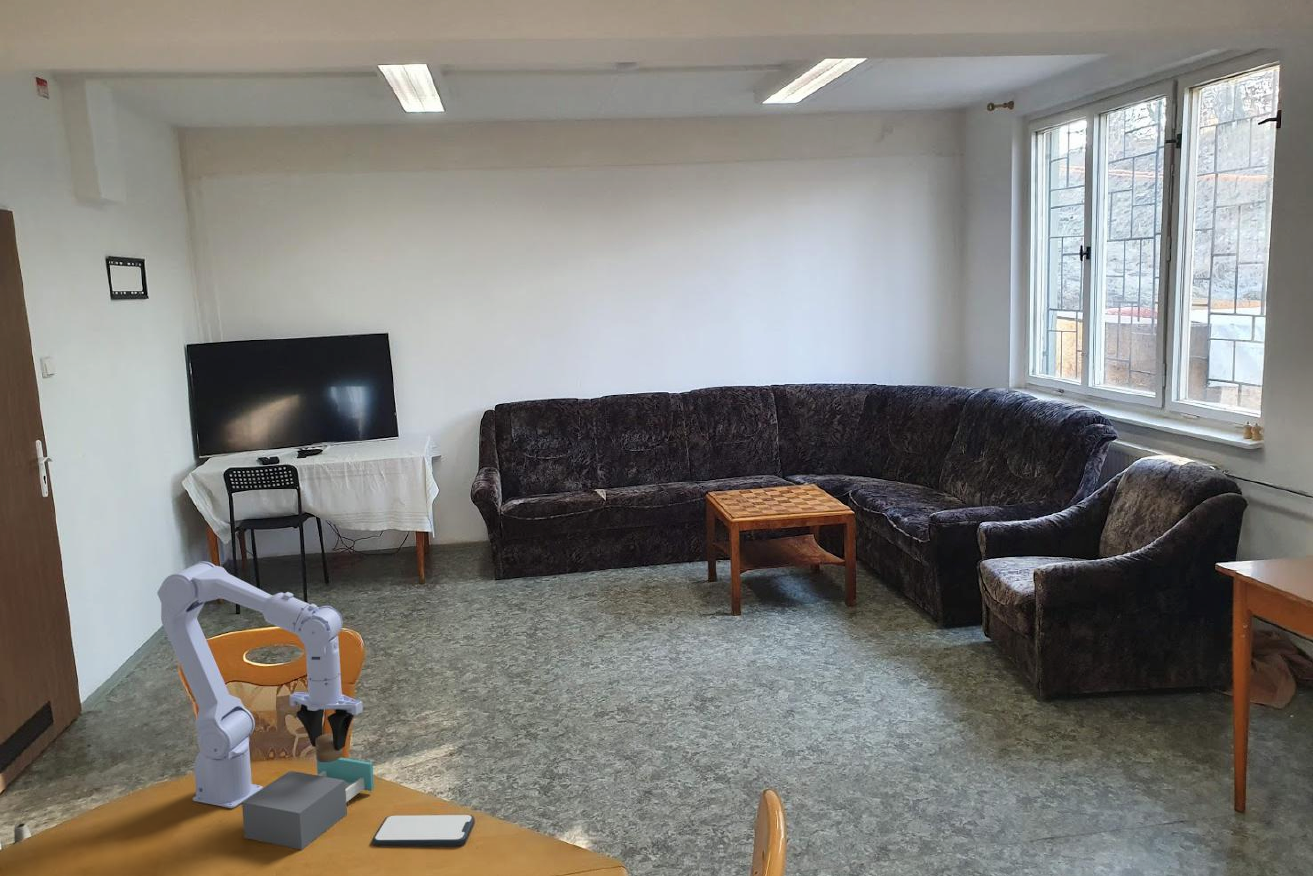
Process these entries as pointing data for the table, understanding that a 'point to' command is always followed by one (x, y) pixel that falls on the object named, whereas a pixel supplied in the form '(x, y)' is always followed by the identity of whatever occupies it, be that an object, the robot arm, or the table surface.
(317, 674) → the robot arm
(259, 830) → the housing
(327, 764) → the tray
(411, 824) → the smartphone
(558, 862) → the table surface
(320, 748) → the brown cork
